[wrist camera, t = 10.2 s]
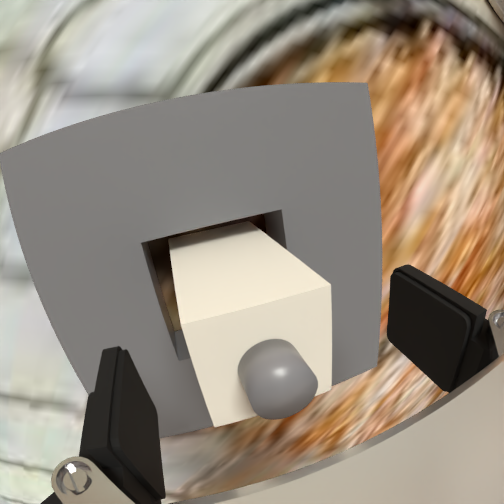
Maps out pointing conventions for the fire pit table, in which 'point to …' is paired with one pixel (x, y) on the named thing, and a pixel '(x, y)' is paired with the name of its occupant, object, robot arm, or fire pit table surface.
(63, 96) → the fire pit table surface
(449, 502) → the robot arm
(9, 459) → the fire pit table surface
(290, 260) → the plug
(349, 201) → the socket plate
